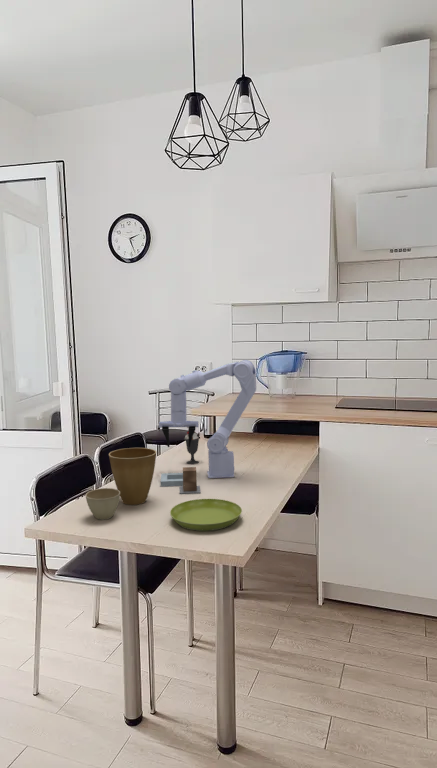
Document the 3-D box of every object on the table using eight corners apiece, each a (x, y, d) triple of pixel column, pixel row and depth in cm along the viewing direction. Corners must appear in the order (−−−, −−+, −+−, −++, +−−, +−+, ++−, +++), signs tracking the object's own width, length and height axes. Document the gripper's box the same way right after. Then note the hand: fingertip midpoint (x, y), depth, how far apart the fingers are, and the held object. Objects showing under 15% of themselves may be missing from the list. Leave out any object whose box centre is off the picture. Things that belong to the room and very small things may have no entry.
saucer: (189, 505, 175) (189, 495, 175) (251, 513, 168) (251, 503, 167) (157, 528, 157) (157, 517, 156) (225, 539, 149) (225, 527, 148)
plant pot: (167, 500, 179) (165, 451, 177) (129, 512, 169) (127, 461, 167) (138, 491, 190) (137, 444, 188) (101, 501, 179) (99, 452, 177)
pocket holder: (188, 477, 205) (188, 472, 205) (189, 485, 195) (189, 480, 195) (161, 478, 204) (161, 473, 204) (160, 486, 194) (160, 481, 194)
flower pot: (80, 516, 166) (79, 493, 165) (108, 508, 173) (107, 486, 172) (98, 525, 159) (97, 501, 158) (127, 516, 166) (126, 493, 165)
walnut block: (196, 486, 192) (195, 466, 191) (196, 490, 188) (196, 470, 187) (183, 487, 192) (182, 467, 191) (183, 491, 187) (182, 471, 186)
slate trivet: (199, 486, 193) (199, 485, 193) (200, 493, 186) (200, 492, 186) (179, 487, 193) (179, 486, 193) (179, 494, 186) (179, 492, 186)
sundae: (181, 463, 223) (180, 427, 222) (188, 459, 230) (187, 423, 228) (196, 465, 221) (195, 428, 219) (203, 461, 227) (202, 424, 225)
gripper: (158, 412, 203) (159, 449, 204) (198, 411, 204) (198, 448, 205) (159, 409, 210) (159, 444, 211) (197, 408, 211) (198, 444, 212)
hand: (178, 446), depth 209 cm, fingers open, 7 cm apart
